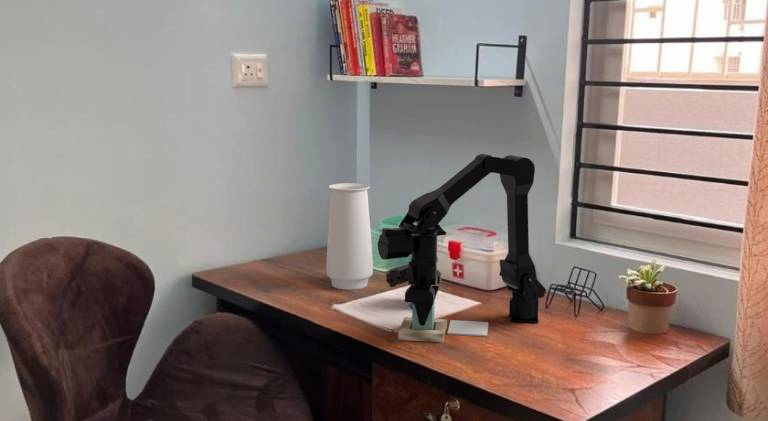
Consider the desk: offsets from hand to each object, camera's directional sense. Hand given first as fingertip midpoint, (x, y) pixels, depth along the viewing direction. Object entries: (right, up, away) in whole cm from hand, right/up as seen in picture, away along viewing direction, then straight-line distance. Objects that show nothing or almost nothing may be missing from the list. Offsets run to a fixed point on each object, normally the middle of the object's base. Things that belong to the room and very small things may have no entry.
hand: (423, 321), depth 172 cm
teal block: (0, -3, +1) cm, 3 cm away
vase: (-19, +4, +40) cm, 44 cm away
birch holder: (0, -3, +1) cm, 3 cm away
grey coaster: (+11, -2, +4) cm, 12 cm away
